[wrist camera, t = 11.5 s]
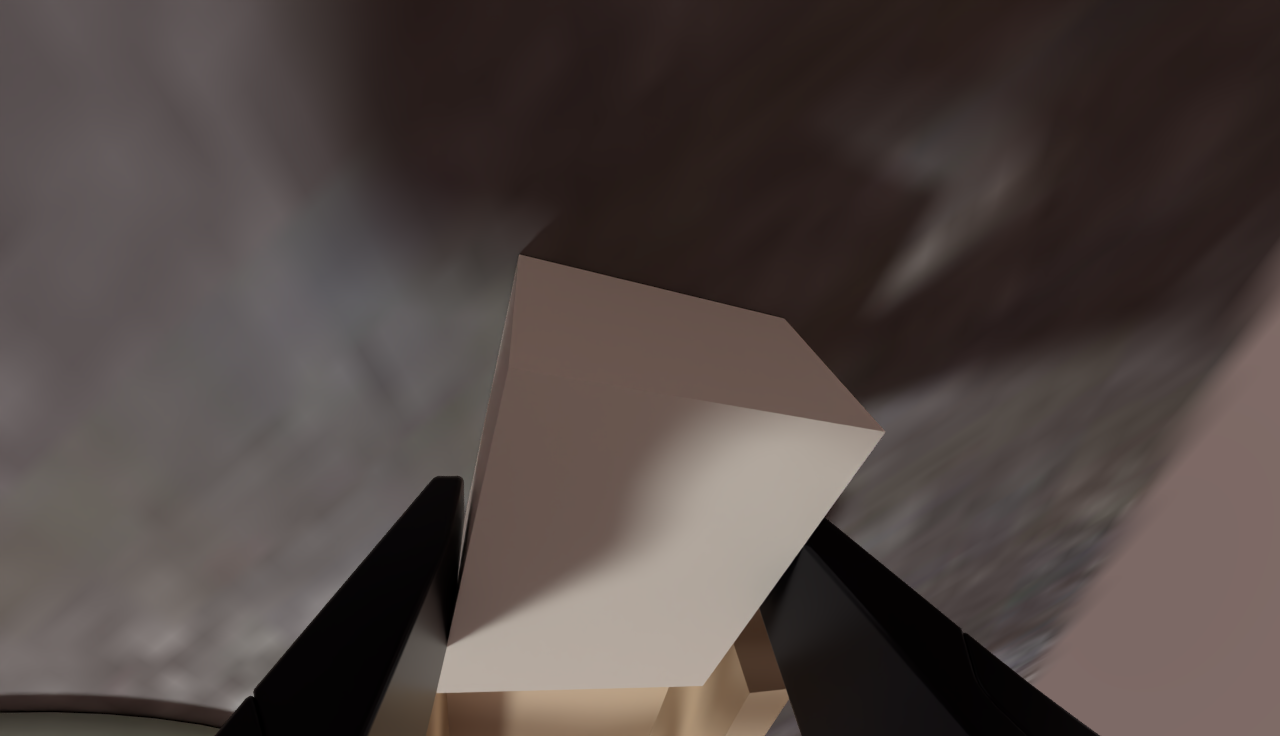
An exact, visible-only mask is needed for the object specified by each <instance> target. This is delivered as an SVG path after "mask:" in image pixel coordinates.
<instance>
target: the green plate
mask: <svg viewBox="0 0 1280 736" xmlns="http://www.w3.org/2000/svg"><path fill="white" fill-rule="evenodd" d="M219 730H220V729H218V728H214V727H209V726H204V725H198V724H191V723H184V722H177V721H170V720H163V719H155V718H144V717H132V716H121V715H109V714H86V713H59V712H32V713H0V736H215V735H216V733H217V732H218V731H219Z"/></svg>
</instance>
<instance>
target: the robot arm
mask: <svg viewBox="0 0 1280 736" xmlns="http://www.w3.org/2000/svg"><path fill="white" fill-rule="evenodd" d="M463 528H464V481H463V478H462V477H460V476H437V477H435V478H433V479H432V480H431V482H430V483H429V484H428V485H427V486H426V487H425V489H424V490H423V491H422V492H421V493H420V495H419V496H418V497H417V498H416V499H415V500H414V502H413V503H412V504H411V505H410V506H409V507H408V509H407V510H406V511H405V512H404V513H403V515H402V516H401V517H400V518H399V519H398V520H397V522H396V523H395V524H394V525H393V526H392V527H391V529H390V530H389V531H388V532H387V533H386V535H385V536H384V537H383V538H382V539H381V540H380V542H379V543H378V544H377V545H376V546H375V548H374V549H373V550H372V551H371V552H370V553H369V555H368V556H367V557H366V558H365V559H364V560H363V562H362V563H361V564H360V565H359V566H358V568H357V569H356V570H355V571H354V572H353V573H352V575H351V576H350V577H349V578H348V579H347V581H346V582H345V583H344V584H343V585H342V586H341V588H340V589H339V590H338V591H337V592H336V593H335V595H334V596H333V597H332V598H331V599H330V601H329V602H328V603H327V604H326V605H325V606H324V608H323V609H322V610H321V611H320V612H319V614H318V615H317V616H316V617H315V618H314V619H313V621H312V622H311V623H310V624H309V625H308V626H307V628H306V629H305V630H304V631H303V632H302V634H301V635H300V636H299V637H298V638H297V639H296V641H295V642H294V643H293V644H292V645H291V647H290V648H289V649H288V650H287V651H286V652H285V654H284V655H283V656H282V657H281V658H280V659H279V661H278V662H277V663H276V664H275V665H274V667H273V668H272V669H271V670H270V671H269V672H268V674H267V675H266V676H265V677H264V678H263V680H262V681H261V682H260V683H259V684H258V685H257V687H256V688H255V689H254V692H253V693H254V697H253V696H249V697H247V698H246V699H245V700H244V701H243V703H242V704H241V705H240V706H239V707H238V708H237V710H236V711H235V712H234V713H233V714H232V716H231V717H230V718H229V719H228V720H227V722H226V723H225V724H224V725H223V726H222V727H221V729H220V730H219V731H218V732H217V733H216V735H215V736H426V733H427V729H428V725H429V721H430V716H431V712H432V708H433V704H434V700H435V695H436V691H437V687H438V683H439V678H440V674H441V670H442V666H443V661H444V657H445V653H446V649H447V643H448V637H449V631H450V625H451V619H452V613H453V607H454V601H455V594H456V588H457V580H458V572H459V563H460V554H461V545H462V537H463ZM759 610H760V613H761V616H762V619H763V622H764V625H765V628H766V631H767V634H768V637H769V640H770V643H771V646H772V649H773V652H774V655H775V658H776V661H777V664H778V667H779V670H780V673H781V676H782V679H783V682H784V685H785V688H786V691H787V694H788V697H789V700H790V703H791V706H792V709H793V712H794V715H795V718H796V720H797V723H798V726H799V729H800V732H801V735H802V736H1100V735H1098V734H1097V733H1096V732H1094V731H1093V730H1091V729H1090V728H1089V727H1087V726H1086V725H1084V724H1083V723H1082V722H1080V721H1079V720H1078V719H1076V718H1075V717H1074V716H1072V715H1071V714H1070V713H1068V712H1067V711H1066V710H1064V709H1063V708H1062V707H1060V706H1059V705H1057V704H1056V703H1055V702H1053V701H1052V700H1051V699H1049V698H1048V697H1047V696H1045V695H1044V694H1043V693H1042V692H1040V691H1039V690H1038V689H1036V688H1035V687H1034V686H1032V685H1031V684H1030V683H1028V682H1027V681H1026V680H1025V679H1023V678H1022V677H1021V676H1020V675H1018V674H1017V673H1016V672H1014V671H1013V670H1012V669H1011V668H1009V667H1008V666H1007V665H1006V664H1004V663H1003V662H1002V661H1001V660H999V659H998V658H997V657H996V656H994V655H993V654H992V653H991V652H989V651H988V650H987V649H986V648H984V647H983V646H982V645H981V644H980V643H978V642H977V641H976V640H975V639H973V638H972V637H971V636H970V635H969V634H967V633H963V632H962V629H961V628H960V627H958V626H957V625H956V624H955V623H954V622H952V621H951V620H950V619H949V618H947V617H946V616H945V615H944V614H943V613H941V612H940V611H939V610H938V609H936V608H935V607H934V606H933V605H932V604H930V603H929V602H928V601H927V600H925V599H924V598H923V597H922V596H921V595H919V594H918V593H917V592H916V591H914V590H913V589H912V588H911V587H910V586H908V585H907V584H906V583H905V582H903V581H902V580H901V579H900V578H899V577H897V576H896V575H895V574H894V573H892V572H891V571H890V570H889V569H888V568H886V567H885V566H884V565H883V564H881V563H880V562H879V561H878V560H876V559H875V558H874V557H873V556H872V555H870V554H869V553H868V552H867V551H865V550H864V549H863V548H862V547H861V546H859V545H858V544H857V543H856V542H854V541H853V540H852V539H851V538H850V537H848V536H847V535H846V534H845V533H843V532H842V531H841V530H840V529H839V528H837V527H836V526H835V525H834V524H832V523H831V522H830V521H829V520H828V519H826V518H825V517H824V518H823V520H822V521H821V522H820V524H819V525H818V526H817V528H816V529H815V531H814V532H813V533H812V535H811V536H810V538H809V539H808V540H807V542H806V543H805V545H804V546H803V547H802V549H801V550H800V551H799V553H798V554H797V556H796V557H795V558H794V560H793V561H792V563H791V564H790V565H789V567H788V568H787V570H786V571H785V572H784V574H783V575H782V577H781V578H780V579H779V581H778V582H777V583H776V585H775V586H774V588H773V589H772V590H771V592H770V593H769V595H768V596H767V597H766V599H765V600H764V602H763V603H762V604H761V606H760V607H759Z"/></svg>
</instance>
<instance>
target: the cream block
mask: <svg viewBox="0 0 1280 736" xmlns="http://www.w3.org/2000/svg"><path fill="white" fill-rule="evenodd" d="M884 433H885V431H884V430H883V429H882V427H881V426H880V425H879V424H878V423H877V422H876V421H875V420H874V418H873V417H872V416H871V415H870V414H869V413H868V412H867V411H866V410H865V408H864V407H863V406H862V405H861V404H860V403H859V402H858V401H857V399H856V398H855V397H854V396H853V395H852V394H851V393H850V392H849V390H848V389H847V388H846V387H845V386H844V385H843V384H842V383H841V382H840V380H839V379H838V378H837V377H836V376H835V375H834V374H833V373H832V371H831V370H830V369H829V368H828V367H827V366H826V365H825V364H824V362H823V361H822V360H821V359H820V358H819V357H818V356H817V355H816V353H815V352H814V351H813V350H812V349H811V348H810V347H809V346H808V345H807V343H806V342H805V341H804V340H803V339H802V338H801V337H800V336H799V334H798V333H797V332H796V331H795V330H794V329H793V328H792V327H791V325H790V324H789V323H788V322H787V321H786V320H785V319H784V318H780V317H776V316H772V315H768V314H764V313H760V312H755V311H751V310H747V309H743V308H739V307H735V306H731V305H726V304H722V303H718V302H714V301H710V300H706V299H702V298H698V297H693V296H689V295H685V294H681V293H677V292H673V291H669V290H664V289H660V288H656V287H652V286H648V285H644V284H640V283H636V282H631V281H627V280H623V279H619V278H615V277H611V276H607V275H602V274H598V273H594V272H590V271H586V270H582V269H578V268H574V267H569V266H565V265H561V264H557V263H553V262H549V261H545V260H540V259H536V258H532V257H528V256H524V255H520V254H519V257H518V262H517V266H516V271H515V276H514V281H513V286H512V291H511V296H510V300H509V305H508V310H507V315H506V320H505V325H504V329H503V334H502V339H501V344H500V349H499V354H498V359H497V363H496V368H495V373H494V378H493V383H492V388H491V392H490V397H489V402H488V407H487V412H486V417H485V422H484V426H483V431H482V436H481V441H480V446H479V451H478V455H477V460H476V465H475V470H474V475H473V480H472V485H471V489H470V494H469V499H468V504H467V509H466V514H465V518H464V528H463V537H462V545H461V554H460V563H459V572H458V580H457V588H456V594H455V601H454V607H453V613H452V619H451V625H450V631H449V637H448V643H447V649H446V653H445V657H444V661H443V666H442V670H441V674H440V678H439V683H438V687H437V692H436V693H461V692H498V691H536V690H574V689H612V688H649V687H687V686H703V685H704V684H705V682H706V681H707V679H708V678H709V677H710V675H711V674H712V672H713V671H714V670H715V668H716V667H717V665H718V664H719V663H720V661H721V660H722V659H723V657H724V656H725V654H726V653H727V652H728V650H729V649H730V647H731V646H732V645H733V643H734V642H735V640H736V639H737V638H738V636H739V635H740V634H741V632H742V631H743V629H744V628H745V627H746V625H747V624H748V622H749V621H750V620H751V618H752V617H753V615H754V614H755V613H756V611H757V610H758V608H759V607H760V606H761V604H762V603H763V602H764V600H765V599H766V597H767V596H768V595H769V593H770V592H771V590H772V589H773V588H774V586H775V585H776V583H777V582H778V581H779V579H780V578H781V577H782V575H783V574H784V572H785V571H786V570H787V568H788V567H789V565H790V564H791V563H792V561H793V560H794V558H795V557H796V556H797V554H798V553H799V551H800V550H801V549H802V547H803V546H804V545H805V543H806V542H807V540H808V539H809V538H810V536H811V535H812V533H813V532H814V531H815V529H816V528H817V526H818V525H819V524H820V522H821V521H822V520H823V518H824V517H825V515H826V514H827V513H828V511H829V510H830V508H831V507H832V506H833V504H834V503H835V501H836V500H837V499H838V497H839V496H840V494H841V493H842V492H843V490H844V489H845V488H846V486H847V485H848V483H849V482H850V481H851V479H852V478H853V476H854V475H855V474H856V472H857V471H858V469H859V468H860V467H861V465H862V464H863V463H864V461H865V460H866V458H867V457H868V456H869V454H870V453H871V451H872V450H873V449H874V447H875V446H876V444H877V443H878V442H879V440H880V439H881V437H882V436H883V435H884Z"/></svg>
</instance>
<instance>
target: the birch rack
mask: <svg viewBox="0 0 1280 736" xmlns="http://www.w3.org/2000/svg"><path fill="white" fill-rule="evenodd" d="M436 692H437V691H436ZM788 699H789V697H788V694H787V691H786V688H785V685H784V682H783V679H782V676H781V673H780V670H779V667H778V664H777V661H776V658H775V655H774V652H773V649H772V646H771V643H770V640H769V637H768V634H767V631H766V628H765V625H764V622H763V619H762V616H761V613H760V610H759V608H758V610H757V611H756V613H755V614H754V615H753V617H752V618H751V620H750V621H749V622H748V624H747V625H746V627H745V628H744V629H743V631H742V632H741V634H740V635H739V636H738V638H737V639H736V640H735V642H734V643H733V645H732V646H731V647H730V649H729V650H728V652H727V653H726V654H725V656H724V657H723V659H722V660H721V661H720V663H719V664H718V665H717V667H716V668H715V670H714V671H713V672H712V674H711V675H710V677H709V678H708V679H707V681H706V682H705V684H704V685H703V686H687V687H649V688H612V689H574V690H536V691H498V692H461V693H436V695H435V700H434V704H433V708H432V712H431V716H430V721H429V725H428V729H427V733H426V736H765V734H766V733H767V731H768V730H769V728H770V727H771V725H772V724H773V722H774V721H775V719H776V718H777V716H778V715H779V713H780V712H781V710H782V709H783V707H784V705H785V704H786V702H787V701H788Z"/></svg>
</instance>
